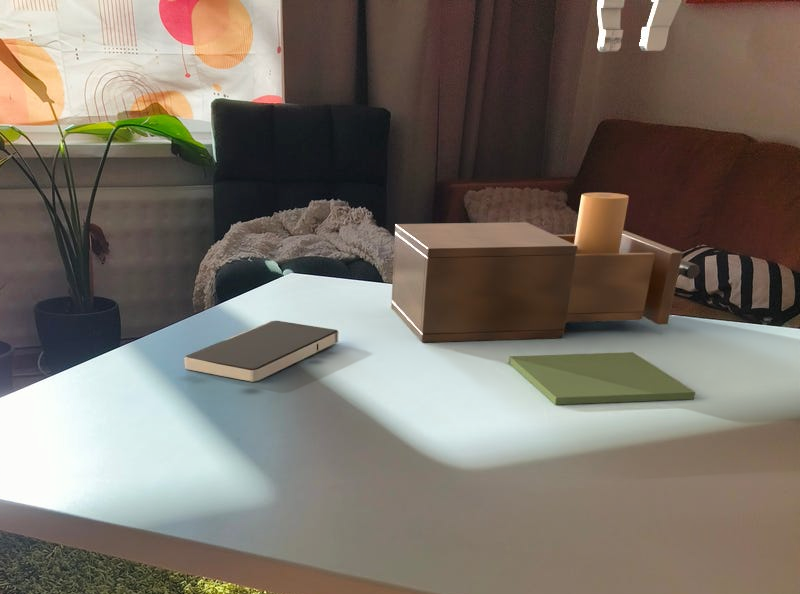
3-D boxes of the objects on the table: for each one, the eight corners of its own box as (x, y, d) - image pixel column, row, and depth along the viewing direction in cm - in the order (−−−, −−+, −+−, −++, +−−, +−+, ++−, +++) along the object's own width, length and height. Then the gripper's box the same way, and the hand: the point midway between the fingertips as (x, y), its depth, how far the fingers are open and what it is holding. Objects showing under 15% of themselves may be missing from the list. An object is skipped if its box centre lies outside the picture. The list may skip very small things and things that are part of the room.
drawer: (649, 294, 102) (661, 229, 99) (707, 323, 91) (724, 251, 88) (499, 298, 100) (507, 232, 96) (540, 328, 89) (551, 255, 85)
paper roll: (599, 294, 97) (617, 192, 92) (617, 304, 93) (636, 197, 88) (559, 295, 97) (574, 192, 91) (575, 305, 93) (592, 198, 87)
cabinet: (516, 304, 101) (526, 222, 97) (563, 338, 89) (577, 245, 85) (391, 308, 100) (395, 224, 95) (421, 342, 88) (428, 248, 83)
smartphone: (180, 356, 79) (272, 319, 90) (181, 370, 80) (272, 331, 91) (255, 370, 76) (342, 330, 86) (256, 384, 76) (341, 342, 87)
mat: (631, 358, 83) (632, 351, 83) (694, 399, 73) (695, 392, 73) (508, 362, 82) (509, 356, 82) (555, 404, 72) (556, 397, 72)
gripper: (763, -170, 67) (717, 50, 75) (643, -124, 84) (616, 52, 92) (684, -173, 66) (646, 50, 74) (580, -126, 83) (557, 51, 91)
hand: (628, 51), depth 83 cm, fingers open, 8 cm apart
